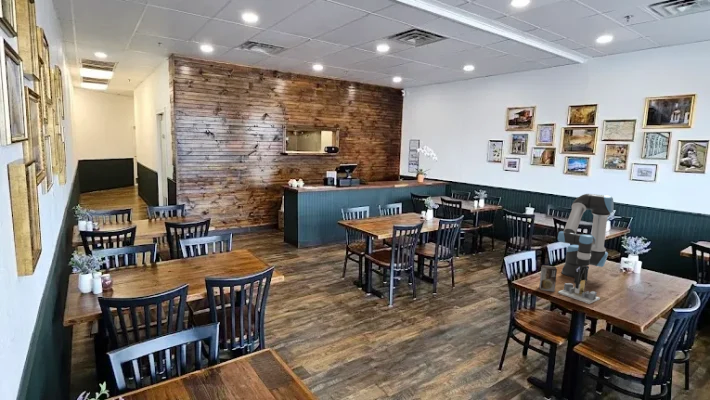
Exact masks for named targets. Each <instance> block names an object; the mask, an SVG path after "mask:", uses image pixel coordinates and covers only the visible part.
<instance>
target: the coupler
mask: <svg viewBox="0 0 710 400" xmlns="http://www.w3.org/2000/svg"><path fill="white" fill-rule="evenodd" d="M585 284H586V282H585V280H584V279H581V281H580V292H579V294H582V293H584V292H585V287H586V285H585ZM577 294H578V293H577Z"/></svg>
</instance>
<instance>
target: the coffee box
mask: <svg viewBox="0 0 710 400" xmlns="http://www.w3.org/2000/svg"><path fill="white" fill-rule="evenodd" d="M557 270H558V269H557V267H556V266H554V265H545V264H542V265H541V269H540V278H539V279H540V280H539V290H541V291H548V292H556V283H557V273H558V271H557Z"/></svg>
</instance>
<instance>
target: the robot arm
mask: <svg viewBox="0 0 710 400" xmlns="http://www.w3.org/2000/svg"><path fill="white" fill-rule="evenodd" d="M614 205H615V204H614V198H613V197H612V196H610V195H606V194H605V195H604V194H593V193H584V194H582V195H580V196H578V197H577V198H576V199H575V200H573V202H572V205H571V211H570V213H569V216H568V218H567V221H566V224H565V226H564V229H563V230H561V231H558V234H557V241H558V242H560V243H564V244H570V245H568V246H567V247H566V251H565V252H566V254H565V255H566V256H565V262H564V265H563V267H562V269H561V274H562V275H565V276H567V277H571V278H574V279H573V283H574V284H575V286H574V287H575V293H578V294H579V292H580V281H581V279H584V280H585V283H587V282H588V277H589V276H588V275H589V269H590V266H594V267H599V268H600V267H601V268H602V267H604V266H605V264H606V262H607V258H608V256H609V253H608V252H607V249H606V247H605V240H606V233H607V224H608V223H607V222H608V217H609V216H610V215H611V213H614V209H615V208H614V207H615V206H614ZM587 210H589V211H591V214H592V215H593V217H592V218H593V219H592V227H591V234H581V233H577V232H578V228H579V225H580V222H581V220H582V217H583V214H584V213H585V212H586V211H587Z"/></svg>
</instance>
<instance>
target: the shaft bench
mask: <svg viewBox="0 0 710 400" xmlns="http://www.w3.org/2000/svg"><path fill="white" fill-rule="evenodd" d="M557 293H558V294H560V295H563V296H564V297H568V298H571V299H575V300H577V301H580V302H583V303H586V304H589V305H590V304H592V303H594V302H595V303H596V302H598V301H600V299H601V298H600V297H599V296H597V293H598V292H596V291H594V290H592V291H589V290H587V291H584V293H582V294H577V293H575V286H574V284H573V283H570V282H567V283H566V282H565V283H564V286H563V289H562V290H559V291H558V292H557Z"/></svg>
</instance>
